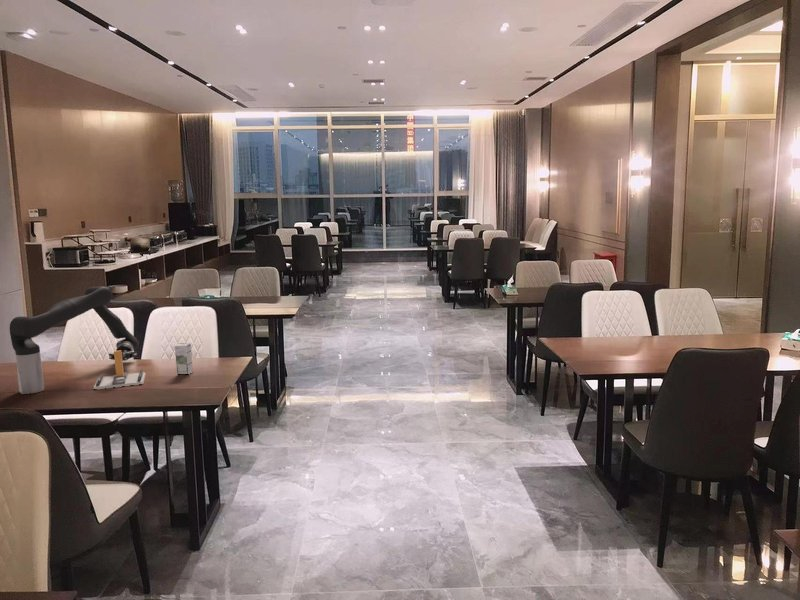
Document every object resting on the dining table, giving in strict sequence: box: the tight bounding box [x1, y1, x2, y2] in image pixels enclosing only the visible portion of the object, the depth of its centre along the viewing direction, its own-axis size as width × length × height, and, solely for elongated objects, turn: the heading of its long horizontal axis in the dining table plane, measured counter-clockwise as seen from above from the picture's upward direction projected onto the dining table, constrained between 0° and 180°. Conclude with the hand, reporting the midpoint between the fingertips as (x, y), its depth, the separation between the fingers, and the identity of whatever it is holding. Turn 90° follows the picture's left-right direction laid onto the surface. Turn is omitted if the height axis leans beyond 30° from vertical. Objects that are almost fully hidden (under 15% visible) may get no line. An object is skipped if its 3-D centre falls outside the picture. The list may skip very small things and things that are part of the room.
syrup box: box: [174, 342, 194, 375], centre depth 299 cm, size 6×6×14 cm
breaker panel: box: [93, 370, 146, 390], centre depth 289 cm, size 20×18×3 cm
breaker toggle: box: [113, 350, 127, 378], centre depth 288 cm, size 5×3×12 cm, turn 108°
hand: (121, 359), depth 297 cm, fingers closed
